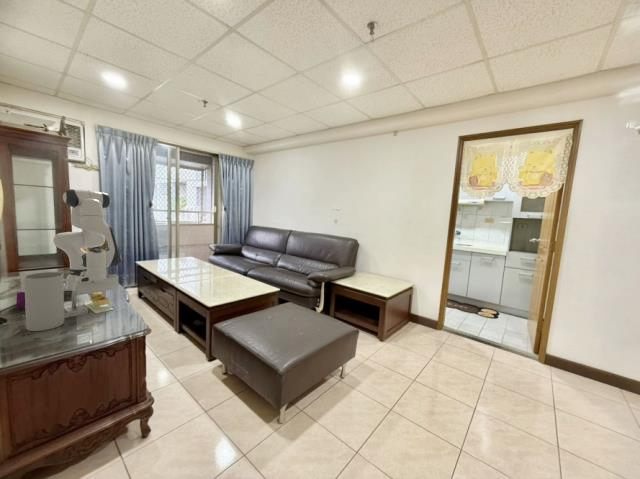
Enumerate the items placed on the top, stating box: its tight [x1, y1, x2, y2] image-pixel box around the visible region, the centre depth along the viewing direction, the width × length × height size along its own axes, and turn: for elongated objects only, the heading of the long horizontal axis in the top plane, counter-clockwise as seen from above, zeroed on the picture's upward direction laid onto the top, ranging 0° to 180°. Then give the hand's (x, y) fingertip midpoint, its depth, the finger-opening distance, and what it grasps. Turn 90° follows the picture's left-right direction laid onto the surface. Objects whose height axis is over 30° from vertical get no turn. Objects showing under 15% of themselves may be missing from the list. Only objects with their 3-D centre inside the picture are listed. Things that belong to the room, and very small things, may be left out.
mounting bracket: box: [16, 291, 25, 311], centre depth 144 cm, size 9×8×18 cm
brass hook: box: [91, 292, 110, 307], centre depth 148 cm, size 16×6×6 cm, turn 56°
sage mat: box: [83, 301, 114, 315], centre depth 148 cm, size 20×8×1 cm, turn 56°
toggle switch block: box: [64, 291, 89, 319], centre depth 139 cm, size 18×9×12 cm, turn 56°
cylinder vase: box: [23, 271, 65, 332], centre depth 121 cm, size 12×12×25 cm
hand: (96, 299), depth 149 cm, fingers closed on brass hook, 3 cm apart
